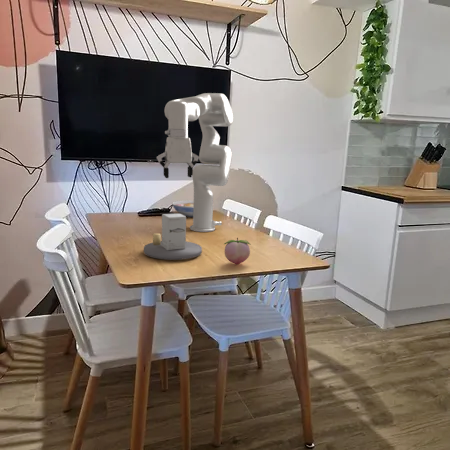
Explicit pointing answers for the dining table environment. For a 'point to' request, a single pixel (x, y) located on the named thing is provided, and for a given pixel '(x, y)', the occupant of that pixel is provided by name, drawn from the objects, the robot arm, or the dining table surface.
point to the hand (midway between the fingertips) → (178, 177)
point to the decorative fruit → (237, 251)
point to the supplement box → (173, 231)
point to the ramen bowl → (184, 207)
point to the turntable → (175, 254)
